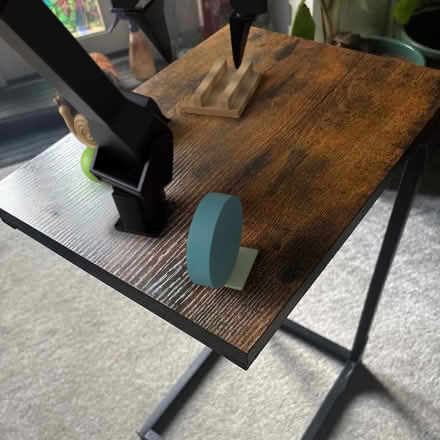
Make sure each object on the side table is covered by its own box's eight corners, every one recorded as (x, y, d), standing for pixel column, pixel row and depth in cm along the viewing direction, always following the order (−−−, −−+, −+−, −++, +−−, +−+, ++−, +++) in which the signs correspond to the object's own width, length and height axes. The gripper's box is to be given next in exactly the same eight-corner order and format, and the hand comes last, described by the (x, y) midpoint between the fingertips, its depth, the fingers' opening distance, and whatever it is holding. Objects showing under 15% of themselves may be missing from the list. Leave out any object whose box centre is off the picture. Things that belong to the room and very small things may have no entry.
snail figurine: (98, 162, 69) (68, 85, 60) (132, 171, 67) (107, 93, 57) (75, 184, 67) (40, 108, 57) (110, 195, 64) (80, 117, 55)
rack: (238, 118, 72) (237, 100, 70) (186, 112, 75) (183, 95, 72) (261, 78, 78) (260, 60, 76) (212, 74, 81) (210, 57, 79)
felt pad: (241, 290, 52) (241, 288, 51) (193, 279, 53) (192, 277, 53) (258, 251, 55) (258, 249, 54) (211, 242, 57) (211, 240, 56)
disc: (202, 294, 45) (220, 191, 43) (179, 289, 46) (195, 187, 44) (233, 284, 54) (248, 199, 53) (213, 279, 55) (228, 195, 53)
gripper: (296, -124, 46) (294, 38, 59) (134, -116, 52) (163, 30, 64) (263, -87, 40) (268, 84, 53) (83, -83, 46) (126, 71, 58)
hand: (203, 64), depth 57 cm, fingers open, 9 cm apart
